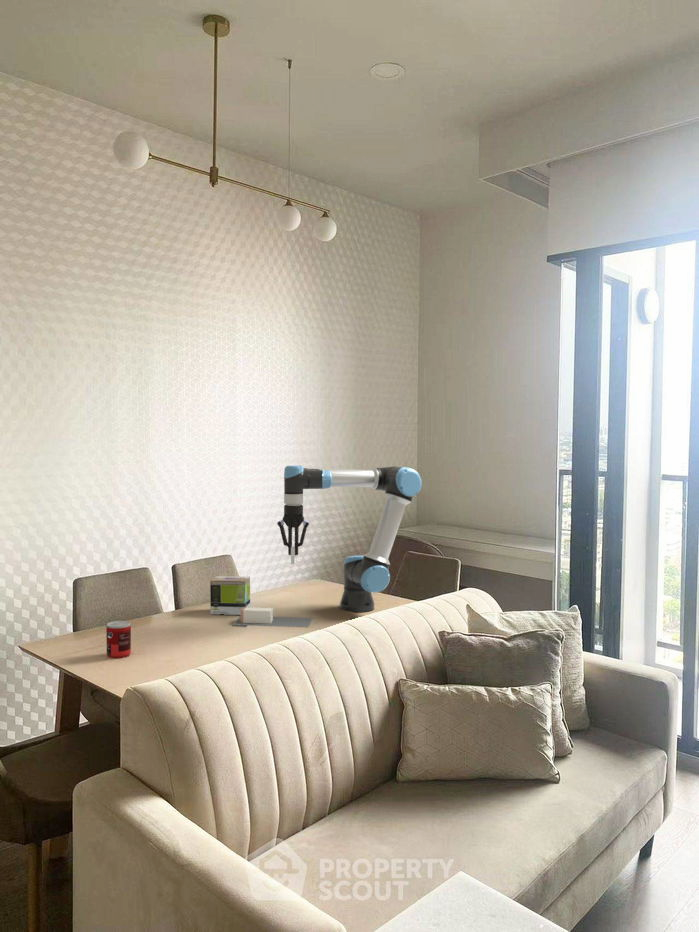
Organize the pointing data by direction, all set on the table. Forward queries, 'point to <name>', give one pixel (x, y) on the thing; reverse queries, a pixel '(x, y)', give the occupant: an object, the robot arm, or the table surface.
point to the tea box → (229, 594)
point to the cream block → (256, 615)
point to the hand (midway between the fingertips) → (293, 563)
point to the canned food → (118, 639)
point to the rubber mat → (280, 622)
